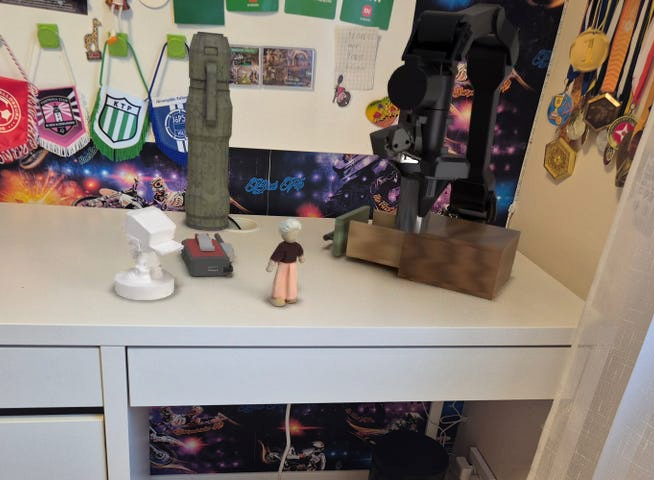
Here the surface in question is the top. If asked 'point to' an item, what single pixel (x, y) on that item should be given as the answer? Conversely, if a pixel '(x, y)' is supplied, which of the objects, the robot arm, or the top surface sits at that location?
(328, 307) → the top surface
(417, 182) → the cup
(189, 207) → the thermos
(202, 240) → the walkie-talkie
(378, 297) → the top surface
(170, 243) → the character figurine
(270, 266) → the grandmother figurine
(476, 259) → the cabinet
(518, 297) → the top surface
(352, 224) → the drawer
